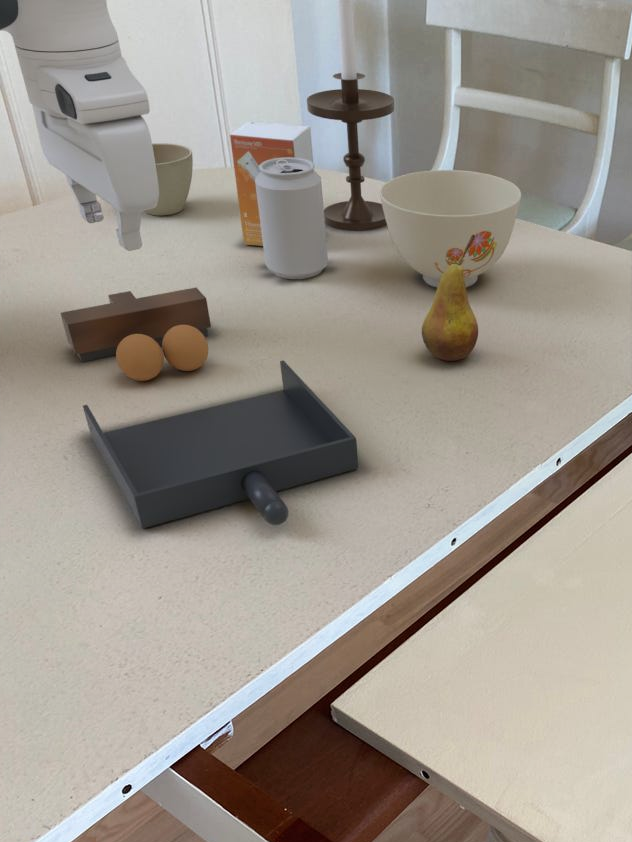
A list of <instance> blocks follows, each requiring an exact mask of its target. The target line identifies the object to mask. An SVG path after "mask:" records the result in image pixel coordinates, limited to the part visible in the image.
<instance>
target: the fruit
mask: <svg viewBox="0 0 632 842" xmlns="http://www.w3.org/2000/svg"><path fill="white" fill-rule="evenodd" d="M474 238H475V235H472V236H471V238H470V240H469V242H468V244H467V246H466V248H465V250H464V253H463V254H462V256H461V258H460V259H459V261H458V263H457V264H452V265H451V266H449V267H448V268H447V269H446V271H445V272H444V273H443V275H442V277H441V280H440V282H439V285H438V288H436V291H435V295H434V298H433V302H432V304H431V307H430V309H429V311H428V313H427V314H426V316H425V318H424V320H423V323H422V326H421V338H422V341H423V343H424V345H425V348H426V349H427V350H428V352H429V353H431V355H432V356H433V357H435V358H437V359H439V360H442V361H445V362H446V361H447V362H454V361H455V362H456V361H460V360H462V359H464V358H467V357H468V356H469V355H470V354H471V353H472V352H473V350H474V349H475V347H476V344H477V342H478V337H479V324H478V321H477V318H476V315H475V313H474V311H473V309H472V306H471V305H470V302H469V299H468V293H467V287H466V285H465V279H464V275H463V268H462V267H461V265H460V264H461V261H462V260H463V258H464V256H465V254H466V252H467V250H468V248H469V246H470V245H471V243H472V242H473V240H474Z"/></svg>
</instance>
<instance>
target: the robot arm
mask: <svg viewBox="0 0 632 842" xmlns="http://www.w3.org/2000/svg"><path fill="white" fill-rule="evenodd" d="M115 27H116V26H115V25H114V23H113V21H112V19H111V16H110V13H109V8H108V3H107V0H0V32H1V31H2V32H7V33H8V34H10V36H11V37H12V41H13V44H14V49H15V52H16V57H17V59H18V63H19V67H20V71H21V75H22V78H23V82H24V86H25V89H26V93H27V99H28V101H29V103H30V104H31V105H32V110H33V116H34V120H35V125H36V129H37V133H38V138H39V141H40V147H41V150H42V153H43V156H44V157H45V160H46V161H47V163H48V164H49V165H50V166H52V167H53V168H55V169H56V170H58V171H60V172H61V173H62V174H64V175H65V177H66V181H67V184H68V186H69V188H70V190H71V192H72V194H73V196H74V198H75V200H76V202H77V206H78V209H79V214H80V217H81V219H83V220H84V221H86V222H87V223H89V224H95V223H100V222H102V221H103V220H104V214H103V210H102V205H101V202H100V201H98V198H100V199H101V200H103V201H104V202H106V203H107V204H108V205H110V206H111V207H112V208H113V213H114V215H115V216H116V219H117V225H118V226H117V227H118V228H116V229H115V233H116V237H117V239H118V240H117V241H118V244H119V246H120V247H122V248H123V249H124V250H126V251H128V252H132V251H137V250H141V248H142V247H143V241H142V236H141V231H140V230H141V223H142V212H145V211H144V210H149V209H153V208H155V207H156V206H157V203H158V198H159V186H158V178H157V171H156V164H155V158H154V152H153V146H152V143H153V142H152V137H151V133H150V129H149V127H148V126H149V125H148V124H147V122H146V119H145V118H144V117H143V116H144V115H149V114H150V110H151V109H150V102H149V96H148V93H147V91H146V89H145V87H144V86H143V85H142V83H141V82H140V81H139V80H138V79H137V77H136V76H135V75H134V74H133V72H132V70H130V68H129V66H128V63H127V61H126V59H125V57H123V55H122V50H121V45H120V40H119V36H118V33H117V30H116V28H115ZM97 197H98V198H97Z"/></svg>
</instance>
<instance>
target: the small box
mask: <svg viewBox="0 0 632 842" xmlns="http://www.w3.org/2000/svg"><path fill="white" fill-rule="evenodd" d="M311 127H312V126H310V125H296V124H295V125H294V124H287V123H280V122H279V123H278V122H262V121H261V122H260V121H247V122H245V123H243V124H242V125H240V126H239V127H238V128H237V129H235V130H234V131H232V132H231V133H230V134H229V137H230V146H231V155H232V162H233V171H234V179H235V185H236V194H237V202H238V208H239V216H240V224H241V225H240V226H241V232H242V239H243V240H242V241H243V244H244V245H246V246H247V245H248V246H258V247H263V240H262V232H261V224H260V217H259V209H258V201H257V193H256V185H255V179H256V177H257V176H258V174H259V173H260V172H261V170H259V165H260V164H261V163H262V162H264V161H267V160H270V159H275V158H286V157H292V158H302V159H306V160H309V161H311V162H312V163H313V164H314V156H313V145H312V130H311ZM313 170H314V171H315V168H314V169H313Z"/></svg>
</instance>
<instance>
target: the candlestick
mask: <svg viewBox="0 0 632 842" xmlns="http://www.w3.org/2000/svg"><path fill="white" fill-rule="evenodd" d="M336 13H337V24H338V25H337V27H338V44H339V57H340V72H339V73H334V74H333V75H332V77H333V79H336V80H340V87H341V88H338V89H330V90H329V89H328V90H322V91H319V92H315V93H313V94H311V95H309V96H308V97H306V106H307V107H306V108H307V111H308V113H309V114H311V115H312V116H315V117H317V118H318V117H319V118H321V119H327V120H335V121H340V122H342V123H344V124H346V134H347V135H346V136H347V150H348V151H347V153H346V154H344V155H343V159H342V161H343V163H344V165H345V167H347V168H348V175H347V176H346V177H345V181H346V182H347V183H348V184H350V185H349V186H350V197H349V199H348V200H345V201H340V202H336V203H332V204H331V205H328V206H327V207H324V219H325V225H328V226H329V227H332V228H335V229H338V230H343V231H355V232H357V231H359V232H360V231H369V230H376V229H379V228H382V227H385V226H387V223H386V219H385V215H384V211H383V207H382V203H381V202H377V201H371V200H365V199H364V198H363V196H362V183H364V182H365V176H364V175H362V170H361V168H362V167H363V166H364V164H365V161H366V157H365V155H363V154H362V153H361V152H360V149H359V148H360V147H359V131H358V124H359V123H361V122H363V121H366V120H375V119H380V118H383V117H386V116H389V115H391V114H392V113H394V111H395V99H394V96H392V95H390V94H389V93H385V92H383V91H382V92H381V91H378V90H373V89H364V88H363V89H362V88H359V80H362V79H365V77H366V75H365V74H363V73H360V72H357V58H356V39H355V22H354V20H355V19H354V4H353V0H336Z"/></svg>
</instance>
